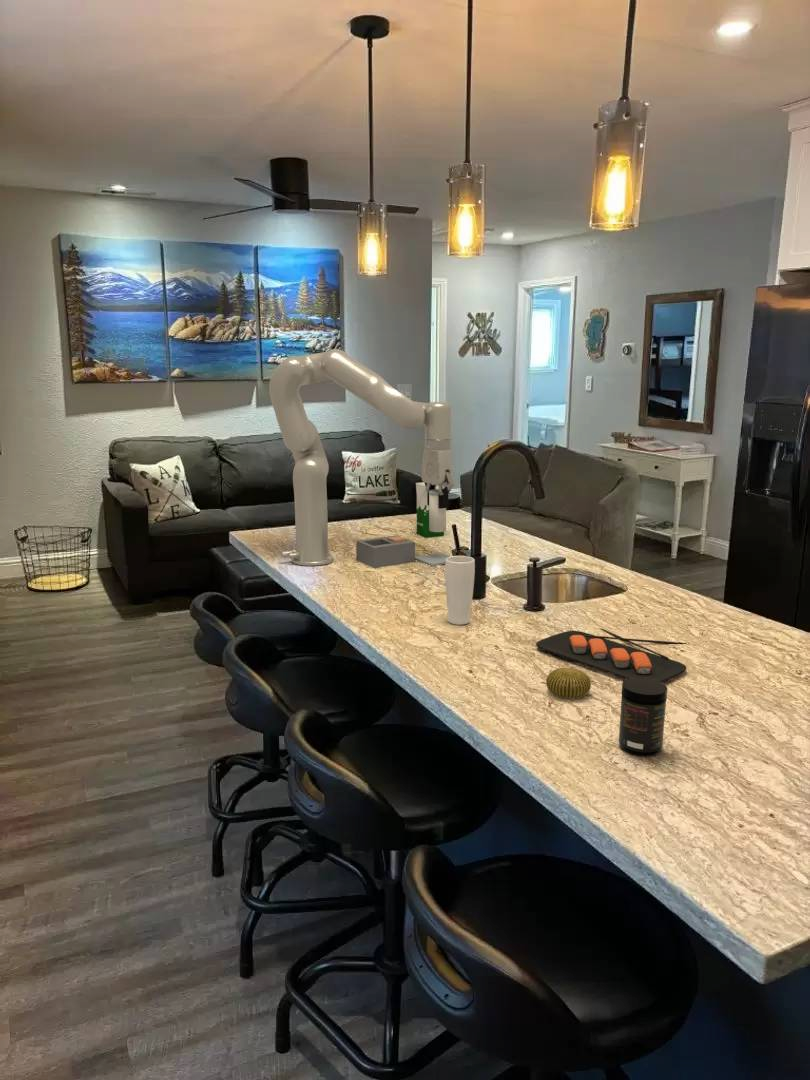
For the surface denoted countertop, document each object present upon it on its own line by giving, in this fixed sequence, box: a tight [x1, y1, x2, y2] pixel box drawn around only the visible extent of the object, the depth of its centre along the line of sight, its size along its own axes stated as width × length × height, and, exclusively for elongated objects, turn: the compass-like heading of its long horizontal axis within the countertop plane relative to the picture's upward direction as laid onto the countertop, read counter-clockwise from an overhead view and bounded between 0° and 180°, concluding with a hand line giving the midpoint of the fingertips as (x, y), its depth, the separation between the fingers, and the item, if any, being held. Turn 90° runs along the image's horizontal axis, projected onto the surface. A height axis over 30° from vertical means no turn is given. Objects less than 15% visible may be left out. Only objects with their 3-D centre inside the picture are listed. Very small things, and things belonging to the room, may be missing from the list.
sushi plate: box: [535, 628, 689, 683], centre depth 168 cm, size 29×30×4 cm
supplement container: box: [618, 678, 668, 757], centre depth 125 cm, size 7×7×10 cm
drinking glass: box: [444, 555, 476, 626], centre depth 185 cm, size 7×7×15 cm
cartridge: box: [429, 489, 447, 533], centre depth 238 cm, size 5×5×12 cm
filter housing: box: [355, 534, 416, 569], centre depth 241 cm, size 14×11×6 cm
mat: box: [415, 552, 451, 567], centre depth 241 cm, size 10×10×1 cm
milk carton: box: [415, 481, 445, 539], centre depth 274 cm, size 9×9×20 cm
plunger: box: [387, 535, 407, 542], centre depth 243 cm, size 4×4×5 cm
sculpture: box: [545, 667, 592, 700], centre depth 147 cm, size 8×4×8 cm
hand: (437, 505), depth 238 cm, fingers closed on cartridge, 5 cm apart
